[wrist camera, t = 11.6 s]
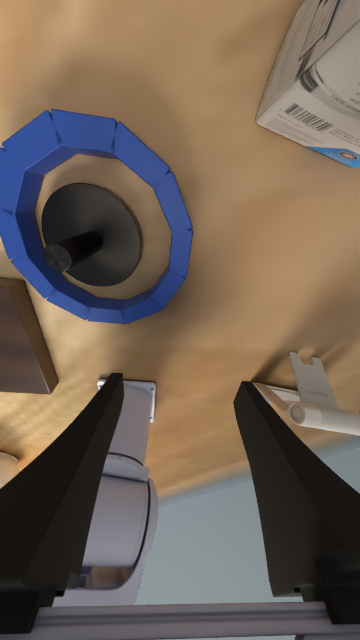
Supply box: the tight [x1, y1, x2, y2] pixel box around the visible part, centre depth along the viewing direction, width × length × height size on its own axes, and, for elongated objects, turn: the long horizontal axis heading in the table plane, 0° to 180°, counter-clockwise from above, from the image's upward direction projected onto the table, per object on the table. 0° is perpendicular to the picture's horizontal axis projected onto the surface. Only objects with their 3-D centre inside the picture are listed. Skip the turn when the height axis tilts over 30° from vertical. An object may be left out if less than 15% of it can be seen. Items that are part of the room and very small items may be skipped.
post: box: [41, 183, 142, 286], centre depth 14 cm, size 8×8×6 cm
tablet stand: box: [252, 352, 360, 436], centre depth 23 cm, size 9×8×8 cm
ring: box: [0, 109, 193, 324], centre depth 16 cm, size 15×15×2 cm
